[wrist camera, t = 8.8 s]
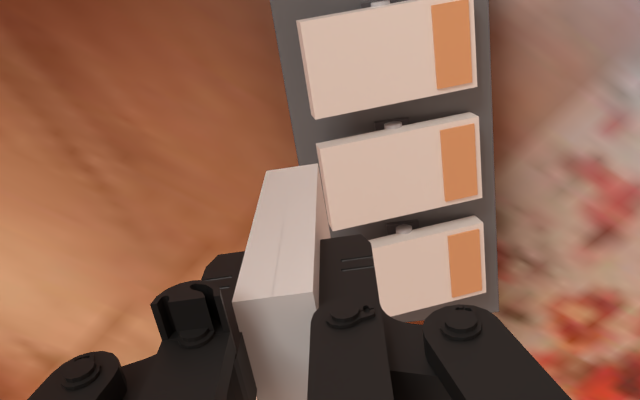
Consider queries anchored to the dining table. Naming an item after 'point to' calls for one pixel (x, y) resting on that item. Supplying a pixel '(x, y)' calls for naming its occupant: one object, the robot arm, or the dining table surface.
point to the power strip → (303, 3)
